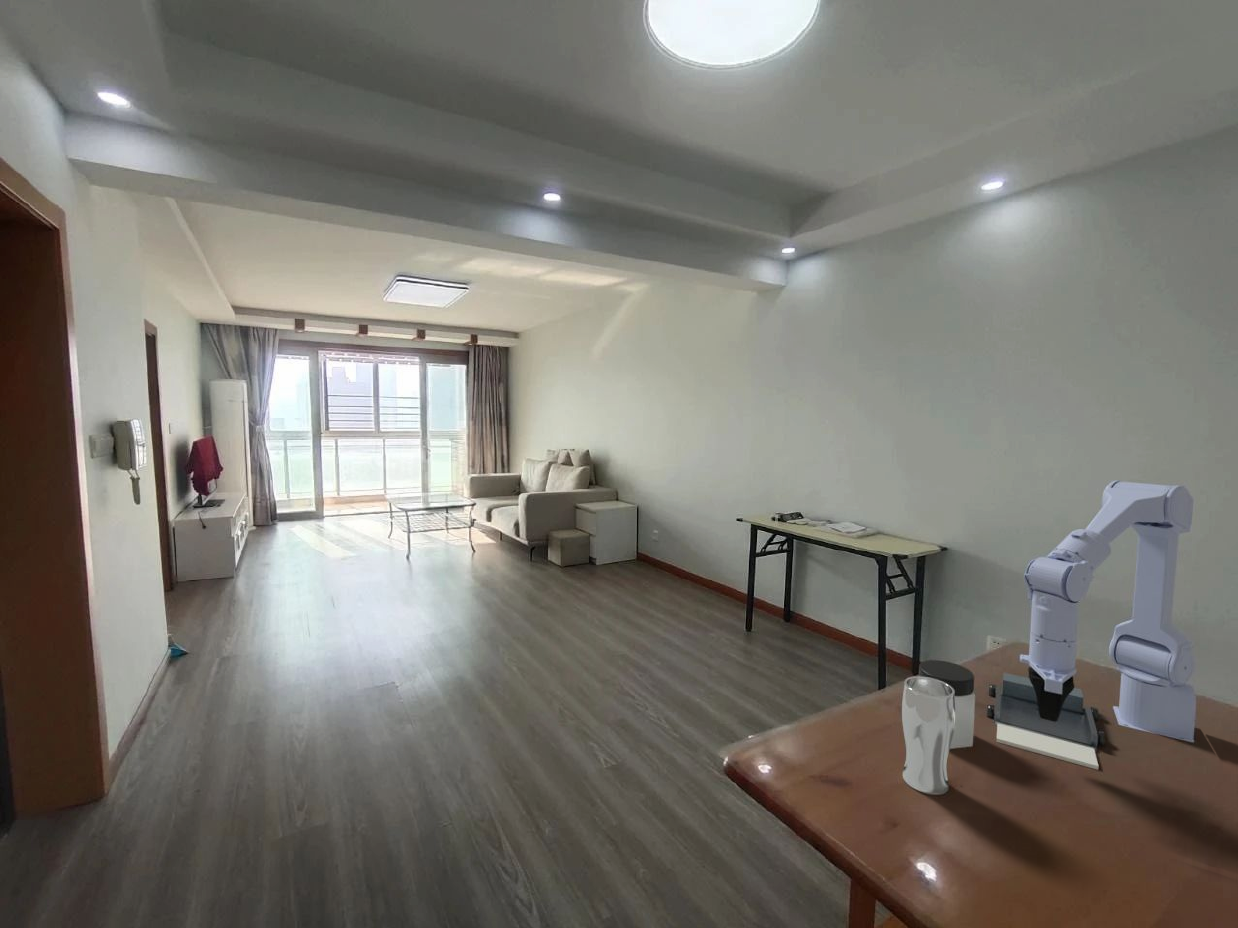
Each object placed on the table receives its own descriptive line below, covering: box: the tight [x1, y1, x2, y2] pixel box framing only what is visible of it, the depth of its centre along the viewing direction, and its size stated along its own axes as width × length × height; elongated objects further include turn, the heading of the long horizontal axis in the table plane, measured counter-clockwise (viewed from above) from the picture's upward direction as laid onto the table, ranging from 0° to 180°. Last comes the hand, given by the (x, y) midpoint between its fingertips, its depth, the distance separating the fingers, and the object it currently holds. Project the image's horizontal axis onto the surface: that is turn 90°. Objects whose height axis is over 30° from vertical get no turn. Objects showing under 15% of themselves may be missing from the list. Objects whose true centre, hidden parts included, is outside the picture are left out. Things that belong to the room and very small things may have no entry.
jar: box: [918, 659, 976, 750], centre depth 95 cm, size 9×8×12 cm
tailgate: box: [994, 721, 1099, 771], centre depth 92 cm, size 14×1×7 cm
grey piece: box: [986, 672, 1106, 750], centre depth 101 cm, size 16×16×4 cm
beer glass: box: [901, 675, 955, 796], centre depth 83 cm, size 7×7×15 cm
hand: (1048, 718), depth 88 cm, fingers closed
